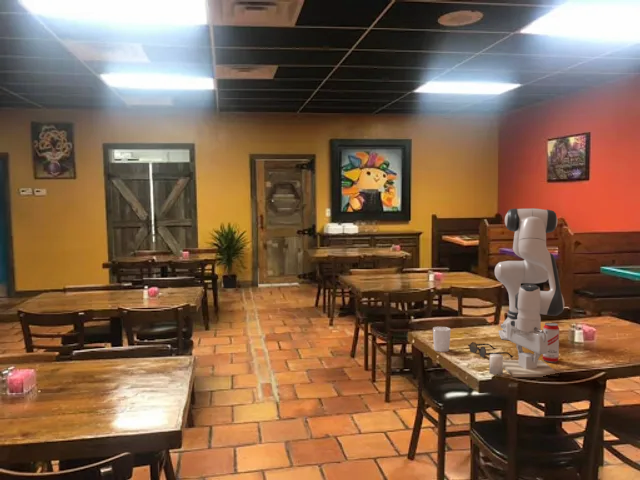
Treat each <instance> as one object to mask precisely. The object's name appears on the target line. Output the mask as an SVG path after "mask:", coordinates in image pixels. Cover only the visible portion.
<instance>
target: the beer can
mask: <svg viewBox="0 0 640 480" xmlns="http://www.w3.org/2000/svg"><path fill="white" fill-rule="evenodd" d="M542 330H543V331H544V333H545V334H546V337H547V342H548V352H547V353H546V354H542V361H543V362H545V363H552V364H553V363H554V364H556V363H558V361H559V360H560V359H559V356H560V355H559V354H560V353H559V351H560V327H559V324H558V323H555V322H545V323H544V326H543V329H542Z"/></svg>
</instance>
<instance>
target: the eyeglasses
mask: <svg viewBox="0 0 640 480" xmlns="http://www.w3.org/2000/svg"><path fill="white" fill-rule="evenodd" d="M478 346H480V347H478ZM485 346H489V347H490V348H491V349H494V350H497V349H498V348H497V347H494V346H492V345H491V344H489V343H476V342H473V341H472V342H471V343H470V344H469V343H468V344H467V347H468V348H469V352H470V353H472V354H476V353H477V352H479V356H480V357H481V358H483V359H484V358H486V356H490V354H500V355H503V354H507V355H508V356H510V357H511V358H512V357H514V355H512V354H511V353H509V352H506V351H504V352H501V351H499V352H487V349H486V347H485Z"/></svg>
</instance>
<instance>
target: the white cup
mask: <svg viewBox="0 0 640 480" xmlns="http://www.w3.org/2000/svg"><path fill="white" fill-rule="evenodd" d="M432 338H433V339H432V341H433V350H434V351H435V352H440V353H445V352H449V351H450V344H451V328H450V327H447V326H434V327H432Z"/></svg>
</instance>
